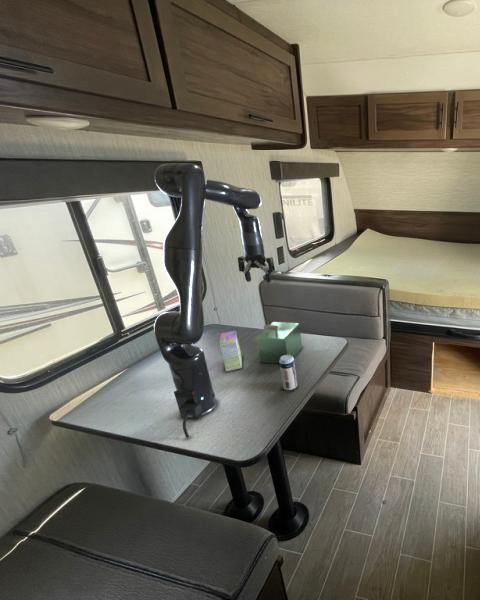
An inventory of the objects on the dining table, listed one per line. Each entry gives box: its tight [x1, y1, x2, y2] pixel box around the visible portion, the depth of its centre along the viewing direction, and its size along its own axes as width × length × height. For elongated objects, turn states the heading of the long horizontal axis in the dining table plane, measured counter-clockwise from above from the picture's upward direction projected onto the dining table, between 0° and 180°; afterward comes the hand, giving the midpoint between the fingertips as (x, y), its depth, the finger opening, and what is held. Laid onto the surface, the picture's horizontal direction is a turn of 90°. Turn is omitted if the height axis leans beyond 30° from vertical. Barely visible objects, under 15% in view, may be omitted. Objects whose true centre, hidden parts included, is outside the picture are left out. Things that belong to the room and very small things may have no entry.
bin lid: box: [254, 321, 300, 341], centre depth 129 cm, size 14×12×5 cm
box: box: [219, 330, 243, 372], centre depth 126 cm, size 10×6×12 cm, turn 25°
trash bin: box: [256, 324, 303, 364], centre depth 132 cm, size 14×12×11 cm
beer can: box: [278, 355, 298, 391], centre depth 111 cm, size 5×5×12 cm
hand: (258, 281), depth 134 cm, fingers open, 8 cm apart
